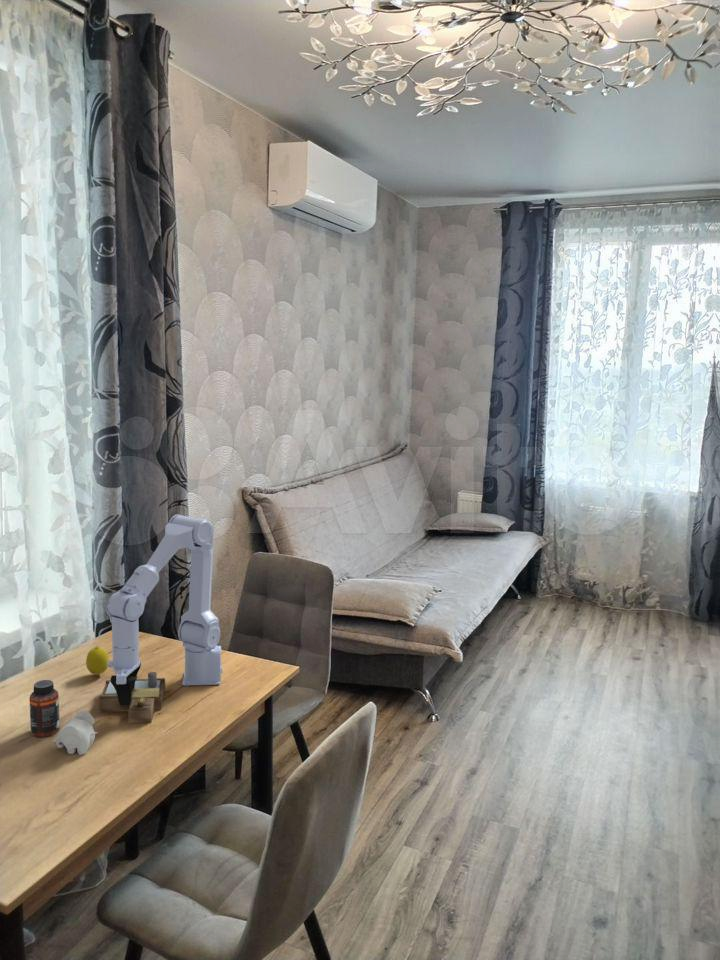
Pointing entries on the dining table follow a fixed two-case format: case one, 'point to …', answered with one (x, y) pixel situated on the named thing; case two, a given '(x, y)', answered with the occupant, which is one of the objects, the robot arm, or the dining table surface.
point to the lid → (138, 684)
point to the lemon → (97, 660)
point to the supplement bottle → (44, 709)
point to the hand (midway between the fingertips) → (126, 699)
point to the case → (133, 704)
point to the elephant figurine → (77, 733)
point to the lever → (144, 694)
